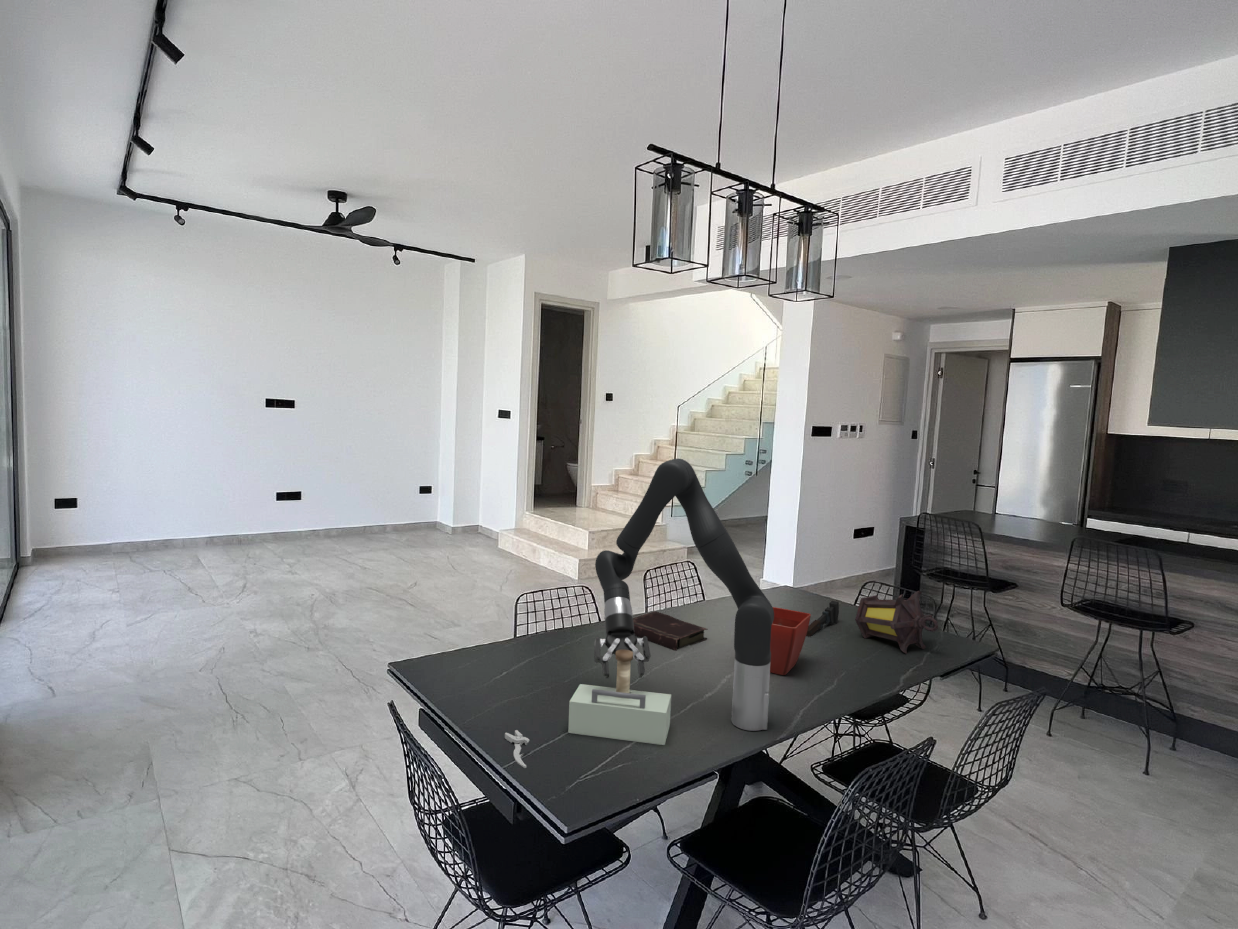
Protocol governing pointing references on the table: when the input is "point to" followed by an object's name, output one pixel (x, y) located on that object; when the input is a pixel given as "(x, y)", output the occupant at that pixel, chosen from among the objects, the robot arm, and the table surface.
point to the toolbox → (620, 714)
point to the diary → (667, 630)
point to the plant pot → (787, 639)
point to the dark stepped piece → (825, 618)
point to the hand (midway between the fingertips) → (624, 677)
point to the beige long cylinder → (623, 670)
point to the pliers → (517, 745)
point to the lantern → (894, 620)
